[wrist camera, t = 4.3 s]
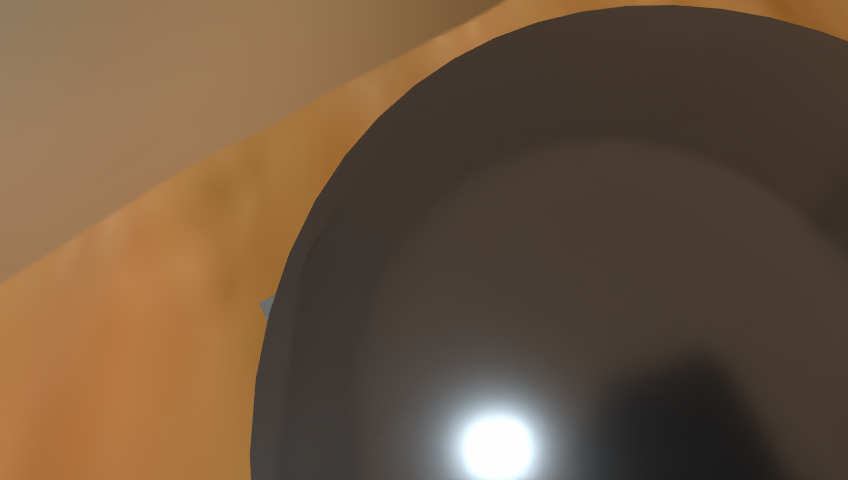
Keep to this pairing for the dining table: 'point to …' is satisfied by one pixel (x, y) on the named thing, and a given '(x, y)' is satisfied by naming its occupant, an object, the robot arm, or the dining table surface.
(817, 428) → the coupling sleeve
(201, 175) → the dining table surface
